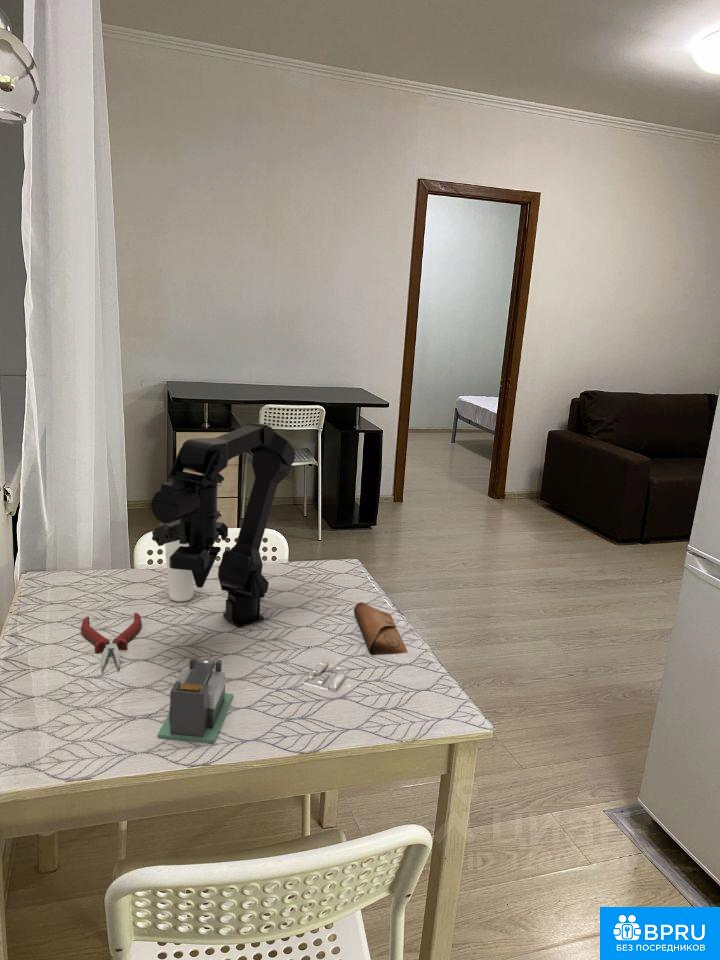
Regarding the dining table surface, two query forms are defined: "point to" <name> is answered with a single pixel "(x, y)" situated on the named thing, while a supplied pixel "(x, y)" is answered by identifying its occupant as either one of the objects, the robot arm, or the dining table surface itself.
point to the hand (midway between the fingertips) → (199, 586)
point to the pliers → (118, 643)
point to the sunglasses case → (378, 630)
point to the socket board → (192, 713)
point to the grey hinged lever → (198, 676)
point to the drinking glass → (178, 577)
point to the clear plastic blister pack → (334, 683)
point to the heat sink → (210, 694)
